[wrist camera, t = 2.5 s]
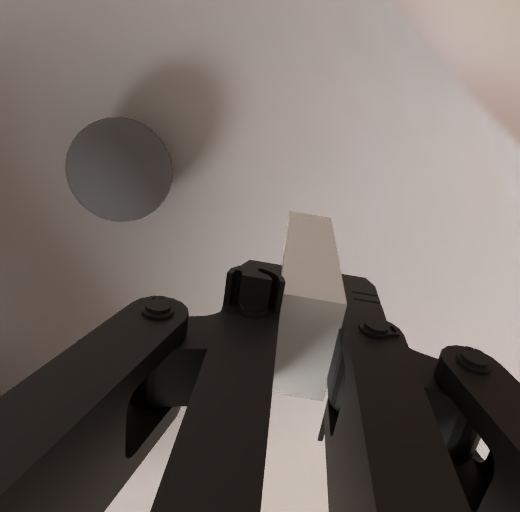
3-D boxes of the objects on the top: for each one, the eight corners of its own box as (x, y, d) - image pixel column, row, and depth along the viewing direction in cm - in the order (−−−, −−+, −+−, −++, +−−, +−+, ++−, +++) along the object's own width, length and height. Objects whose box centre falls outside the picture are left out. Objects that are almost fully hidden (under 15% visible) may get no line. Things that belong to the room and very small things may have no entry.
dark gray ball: (92, 199, 28) (46, 225, 23) (92, 106, 26) (41, 113, 21) (179, 212, 28) (152, 243, 22) (186, 121, 26) (158, 132, 20)
